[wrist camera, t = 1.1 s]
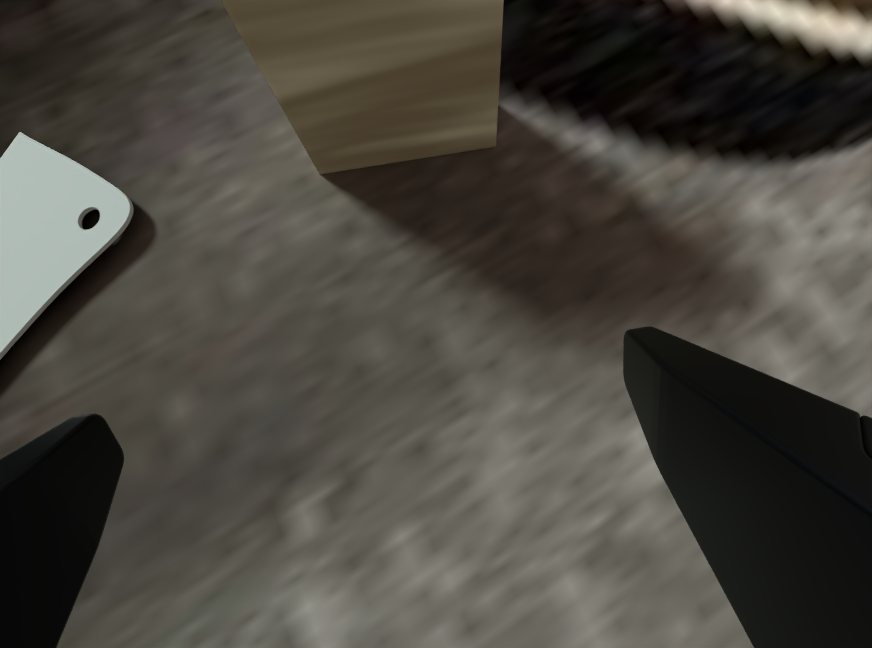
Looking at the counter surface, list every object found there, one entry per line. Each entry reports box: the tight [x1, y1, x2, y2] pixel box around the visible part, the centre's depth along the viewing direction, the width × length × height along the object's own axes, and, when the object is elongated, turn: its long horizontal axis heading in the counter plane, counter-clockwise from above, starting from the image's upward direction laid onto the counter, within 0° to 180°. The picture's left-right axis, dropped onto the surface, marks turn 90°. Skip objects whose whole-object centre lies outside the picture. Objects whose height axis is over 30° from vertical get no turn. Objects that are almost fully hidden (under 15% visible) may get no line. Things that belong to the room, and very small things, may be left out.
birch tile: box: [221, 0, 503, 174], centre depth 19 cm, size 2×8×12 cm, turn 98°
